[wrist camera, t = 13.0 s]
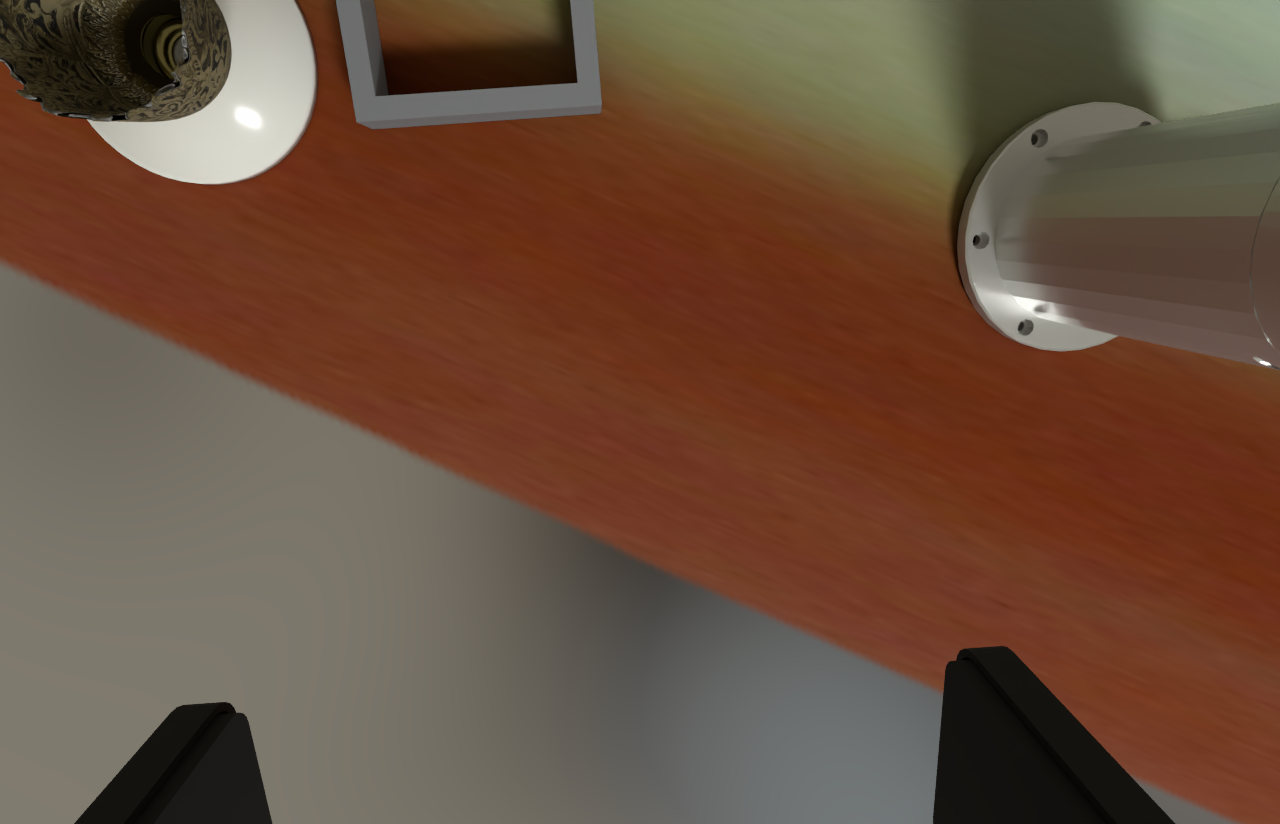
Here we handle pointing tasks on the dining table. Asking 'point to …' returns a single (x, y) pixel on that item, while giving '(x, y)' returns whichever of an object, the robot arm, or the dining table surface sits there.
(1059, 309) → the robot arm
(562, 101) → the pocket frame
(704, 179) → the dining table surface
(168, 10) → the ornate bronze lamp shade
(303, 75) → the coaster
